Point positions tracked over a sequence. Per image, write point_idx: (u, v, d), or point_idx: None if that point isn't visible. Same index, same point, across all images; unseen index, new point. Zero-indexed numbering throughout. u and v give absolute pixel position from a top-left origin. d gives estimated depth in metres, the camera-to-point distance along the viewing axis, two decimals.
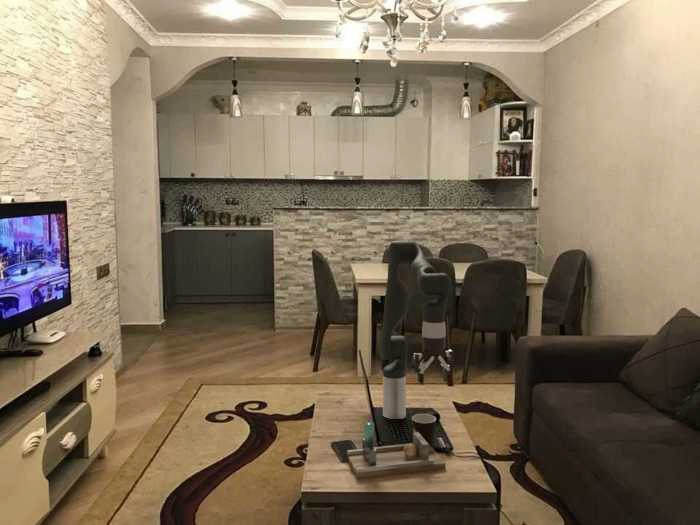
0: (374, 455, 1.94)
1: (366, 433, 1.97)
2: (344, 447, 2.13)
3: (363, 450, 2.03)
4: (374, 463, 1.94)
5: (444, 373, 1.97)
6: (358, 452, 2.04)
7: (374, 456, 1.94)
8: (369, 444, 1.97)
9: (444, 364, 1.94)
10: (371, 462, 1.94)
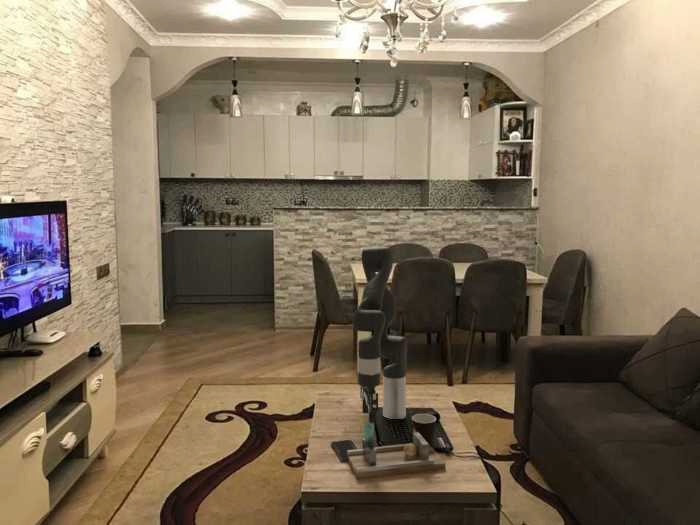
0: (374, 455, 1.94)
1: (366, 433, 1.97)
2: (344, 447, 2.13)
3: (363, 450, 2.03)
4: (374, 463, 1.94)
5: (366, 405, 2.01)
6: (358, 452, 2.04)
7: (374, 456, 1.94)
8: (369, 444, 1.97)
9: None
10: (371, 462, 1.94)
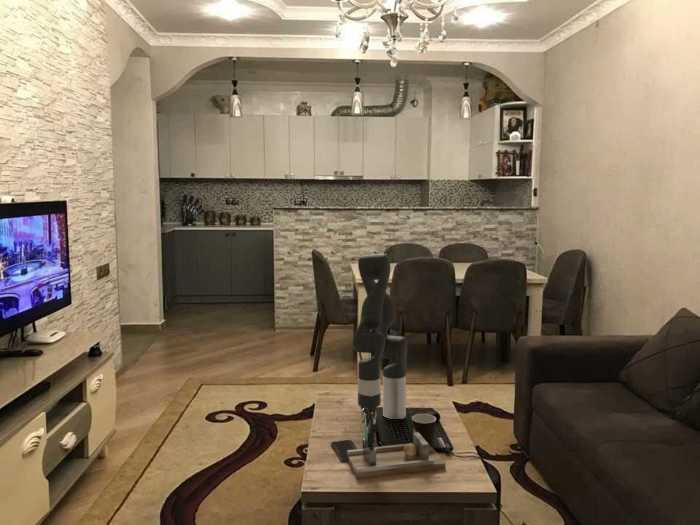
0: (374, 455, 1.94)
1: (366, 433, 1.97)
2: (344, 447, 2.13)
3: (363, 450, 2.03)
4: (374, 463, 1.94)
5: None
6: (358, 452, 2.04)
7: (374, 456, 1.94)
8: (369, 444, 1.97)
9: None
10: (371, 462, 1.94)
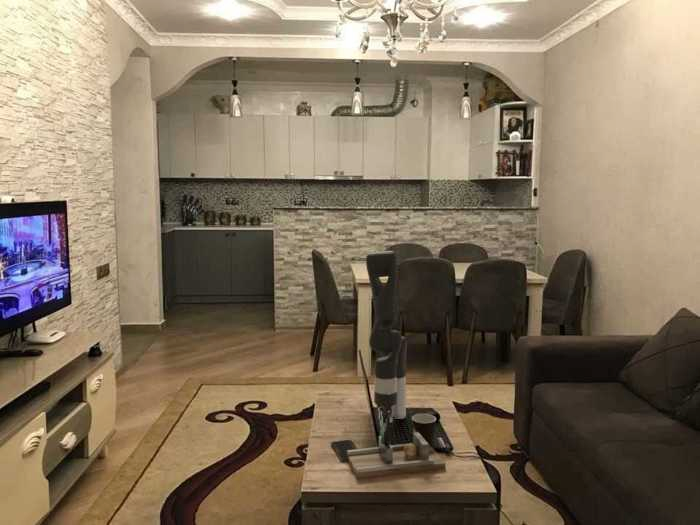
0: (391, 453, 1.95)
1: (382, 431, 1.98)
2: (344, 447, 2.13)
3: (379, 448, 2.04)
4: (391, 461, 1.96)
5: None
6: (358, 452, 2.04)
7: (391, 454, 1.95)
8: (385, 442, 1.98)
9: None
10: (388, 460, 1.95)
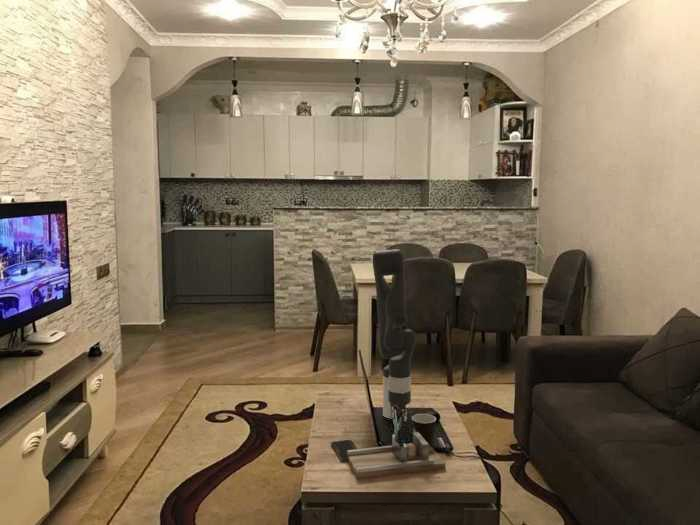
0: (405, 452, 1.96)
1: (396, 430, 1.99)
2: (344, 447, 2.13)
3: (392, 447, 2.05)
4: (405, 460, 1.97)
5: None
6: (358, 452, 2.04)
7: (405, 453, 1.96)
8: (399, 441, 1.99)
9: None
10: (402, 459, 1.96)
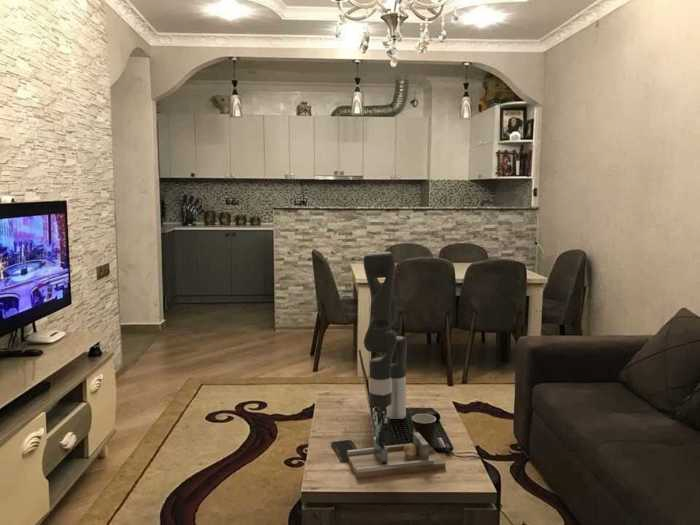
0: (385, 454, 1.95)
1: (377, 432, 1.98)
2: (344, 447, 2.13)
3: (374, 449, 2.04)
4: (385, 462, 1.95)
5: None
6: (358, 452, 2.04)
7: (385, 455, 1.95)
8: (380, 443, 1.98)
9: None
10: (382, 461, 1.95)
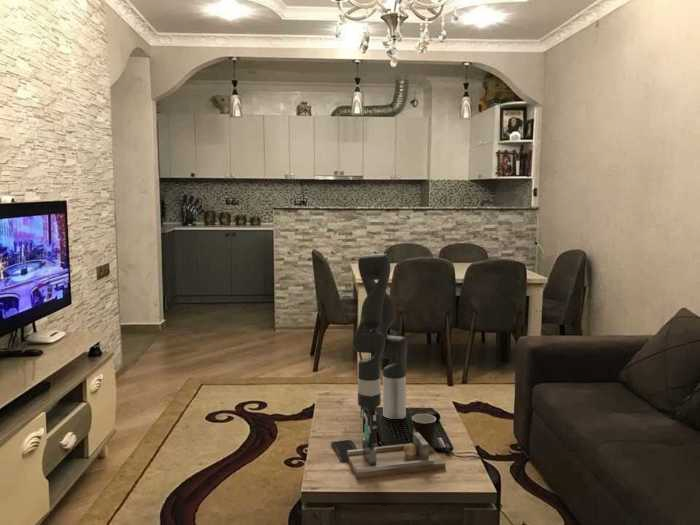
0: (374, 455, 1.94)
1: (366, 433, 1.97)
2: (344, 447, 2.13)
3: (363, 450, 2.03)
4: (374, 463, 1.94)
5: None
6: (358, 452, 2.04)
7: (374, 456, 1.94)
8: (369, 444, 1.97)
9: None
10: (371, 462, 1.94)
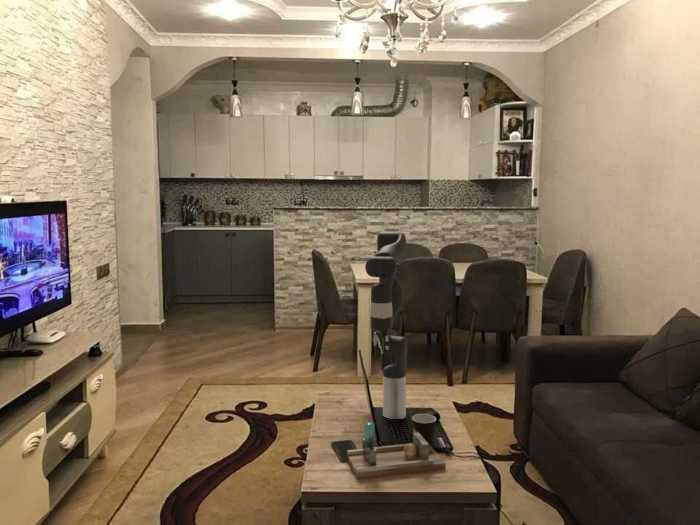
0: (374, 455, 1.94)
1: (366, 433, 1.97)
2: (344, 447, 2.13)
3: (363, 450, 2.03)
4: (374, 463, 1.94)
5: (378, 349, 2.10)
6: (358, 452, 2.04)
7: (374, 456, 1.94)
8: (369, 444, 1.97)
9: None
10: (371, 462, 1.94)
